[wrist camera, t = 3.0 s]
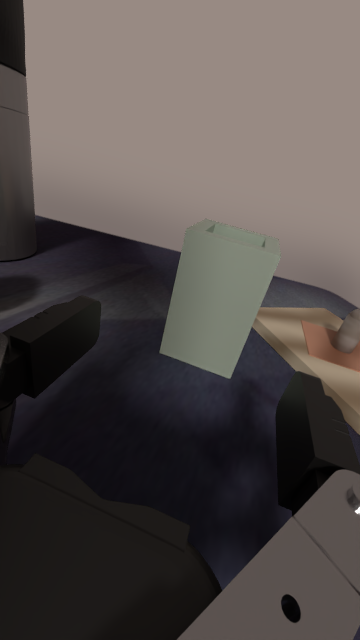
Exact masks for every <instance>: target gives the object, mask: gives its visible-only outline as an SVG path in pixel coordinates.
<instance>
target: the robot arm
mask: <svg viewBox="0 0 360 640" xmlns="http://www.w3.org/2000/svg"><path fill="white" fill-rule="evenodd" d="M36 251H37V244H36V228H35V211H34V194H33V177H32V162H31V146H30V131H29V116H28V102H27V85H26V67H25V30H24V10H23V0H0V261H4V260H15V259H21V258H25V257H28V256H31V255H33V254H34V253H35V252H36ZM100 316H101V303H100V302H99V301H97V300H94V299H91V298H88V297H86V296H79V297H77V298H75V299H74V300H72V301H70V302H68V303H67V302H66V303H62V304H57V305H53V306H51V307H49V308H48V309H46V310H44V311H43V312H40V313H38V314H36V315H34V317H31V318H29V319H27V320H25V321H23V322H21V323H20V324H18V325H16V326H14V327H12V328H10V329H8V330H6V331H5V332H3V333H0V640H353V638H354V636H355V634H356V632H357V629H358V627H359V625H360V465H359V462H358V459H357V456H356V453H355V450H354V447H353V444H352V441H351V438H350V436H349V431H348V428H347V425H345V423H346V422H345V419H344V416H343V413H342V410H341V409H340V408H339V406H338V405H337V404H336V402H335V401H334V400H333V398H332V397H330V396H327V395H325V392H324V389H323V385H322V381H321V379H320V378H318V377H315V376H312V375H309V374H306V373H303V372H301V371H297V372H296V373H295V374H294V376H293V378H292V379H291V381H290V383H289V385H288V387H287V388H286V390H285V392H284V394H283V395H282V397H281V399H280V401H279V403H278V406H277V410H276V445H277V477H278V505H280V506H282V507H284V508H287V509H289V510H291V511H292V517H291V518H290V519H289V520H288V521H287V523H286V524H285V525H284V526H283V527H282V528H281V529H280V530H279V531H278V532H277V533H276V534H275V535H274V536H273V538H272V539H271V540H270V541H269V542H268V543H267V544H266V545H265V546H264V547H263V548H262V549H261V550H260V551H259V552H258V554H257V555H256V556H255V557H254V558H253V559H252V560H251V561H250V562H249V563H248V564H247V565H246V566H245V567H244V568H243V570H242V571H241V572H240V573H239V574H238V575H237V576H236V577H235V578H234V579H233V580H232V581H231V582H230V583H229V585H228V586H227V587H226V588H225V589H224V590H223V591H222V589H221V587H220V584H219V582H218V580H217V578H216V577H215V575H214V573H213V571H212V570H211V568H210V566H209V565H208V564H207V562H206V561H205V559H204V558H203V557H202V555H201V554H200V553H199V552H198V551H197V550H196V549H195V547H194V546H192V545H191V544H190V543H189V542H188V541H187V538H188V534H189V530H190V525H188V524H185V523H183V522H181V521H179V520H177V519H175V518H173V517H170V516H168V515H166V514H164V513H162V512H160V511H158V510H156V509H153V508H151V507H149V506H142V505H136V504H129V503H122V502H116V501H109V500H104V499H102V498H101V497H99V496H98V495H97V494H96V493H95V492H94V491H93V490H92V489H91V488H90V487H89V486H87V485H86V484H85V483H84V482H83V481H82V480H81V479H80V478H79V477H78V476H77V475H76V474H75V473H74V472H73V471H71V470H70V469H68V468H66V467H64V466H62V465H60V464H57V463H55V462H53V461H51V460H49V459H47V458H45V457H43V456H40V455H38V454H36V453H35V454H34V455H33V456H32V457H31V459H30V460H29V461H28V462H27V463H26V464H25V465H22V464H8V465H7V451H8V445H9V440H10V435H11V430H12V424H13V419H14V414H15V409H16V398H17V397H18V396H19V395H21V394H22V393H23V394H25V395H28V396H30V397H32V398H36V397H37V396H38V395H39V394H40V393H41V392H43V391H44V390H45V389H46V388H47V387H48V386H49V385H50V384H52V383H53V382H54V381H55V380H56V379H57V378H58V377H59V376H61V375H62V374H63V373H64V372H65V371H66V370H67V369H68V368H70V367H71V366H72V365H73V364H74V363H75V362H76V361H77V360H79V359H80V358H81V357H82V356H83V355H84V354H85V353H86V352H88V351H89V350H90V349H91V348H92V347H93V346H94V345H95V343H96V342H97V339H98V337H99V330H100Z"/></svg>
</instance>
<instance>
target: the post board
mask: <svg viewBox="0 0 360 640" xmlns="http://www.w3.org/2000/svg"><path fill="white" fill-rule="evenodd" d="M252 327H253V328H254V329H255V330H256V331H257V332H258V333H259V334H260V335H261V336H262V337H263V338H264V339H265V340H266V341H267V342H268V343H269V344H270V345H271V346H272V347H273V348H274V349H275V351H276V352H277V353H278V354H279V355H280V356H281V357H282V358H283V359H284V360H285V361H286V362H287V363H288V364H289V365H290V366H291V367H292V368H293V369H294V370H295V371H296V372H297V371H301V372H303V373H306V374H309V375H312V376H315V377H318V378H320V379H321V381H322V385H323V389H324V392H325V395H327V396H330V397H332V398H333V400H334V401H335V402H336V404H337V405H338V406H339V408H340V409H341V410H342V413H343V416H344V419H345V421H346V422H347V423H348V424H349V425H350V426H351V427H352V428H353V429H354V430H355V431H356V432H357V433H358V434H359V435H360V309H356V310H353V311H352V312H351V313H349V314H348V315H347V317H346V318H345V320H344V321H343V320H342V319H340V318H339V317H337V316H335V315H334V314H332V313H331V312H329V311H328V310H326V309H325V308H259V311H258V313H257V315H256V318H255V320H254V323H253V325H252Z"/></svg>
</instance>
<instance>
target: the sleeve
mask: <svg viewBox="0 0 360 640" xmlns="http://www.w3.org/2000/svg"><path fill="white" fill-rule="evenodd" d="M280 257H281V252H280V246H279V240H278V239H277V238H273V237H270V236H266V235H262V234H258V233H255V232H252V231H248V230H244V229H241V228H237V227H234V226H229V225H226V224H223V223H219V222H216V221H212V220H208V219H205V220H203V221H201V222H199V223H197V224H195V225H193V226H191V227H189V228H187V229H186V233H185V238H184V243H183V247H182V252H181V256H180V261H179V265H178V270H177V275H176V279H175V284H174V288H173V293H172V297H171V302H170V307H169V311H168V316H167V320H166V325H165V330H164V334H163V339H162V343H161V348H160V352H159V353H161V354H164V355H167V356H169V357H172V358H175V359H178V360H180V361H183V362H186V363H188V364H191V365H194V366H196V367H199V368H202V369H204V370H207V371H210V372H213V373H215V374H218V375H221V376H223V377H226V378H229V379H230V378H231V376H232V373H233V371H234V368H235V366H236V364H237V361H238V359H239V356H240V354H241V352H242V349H243V347H244V344H245V342H246V340H247V337H248V335H249V332H250V330H251V327H252V325H253V323H254V320H255V318H256V315H257V313H258V311H259V308H260V306H261V303H262V301H263V299H264V296H265V294H266V291H267V289H268V286H269V284H270V282H271V279H272V277H273V274H274V272H275V269H276V267H277V264H278V262H279V260H280Z"/></svg>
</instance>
